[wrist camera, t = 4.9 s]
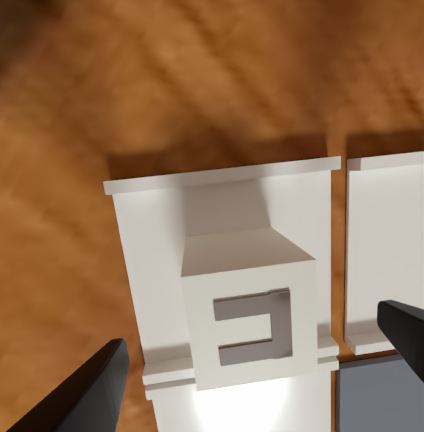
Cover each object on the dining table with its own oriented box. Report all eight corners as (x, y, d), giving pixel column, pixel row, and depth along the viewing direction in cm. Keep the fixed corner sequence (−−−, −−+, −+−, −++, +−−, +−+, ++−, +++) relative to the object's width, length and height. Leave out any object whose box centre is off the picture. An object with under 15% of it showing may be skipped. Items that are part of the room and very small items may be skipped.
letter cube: (271, 226, 12) (317, 260, 7) (275, 303, 13) (318, 374, 8) (185, 237, 12) (180, 278, 7) (196, 314, 13) (196, 394, 8)
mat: (455, 345, 15) (462, 350, 14) (442, 440, 16) (449, 447, 16) (336, 364, 14) (340, 369, 14) (335, 460, 16) (339, 467, 15)
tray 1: (328, 157, 12) (340, 156, 11) (328, 341, 14) (338, 354, 13) (110, 180, 11) (102, 181, 10) (147, 369, 13) (143, 385, 12)
